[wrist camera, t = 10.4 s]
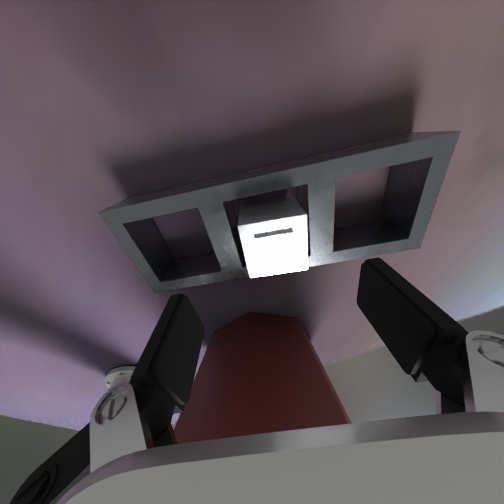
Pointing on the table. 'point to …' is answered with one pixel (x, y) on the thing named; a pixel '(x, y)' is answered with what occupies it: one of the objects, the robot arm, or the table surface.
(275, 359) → the bucket
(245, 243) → the white slotted box
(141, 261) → the grey compartment tray
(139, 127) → the table surface
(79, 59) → the table surface
